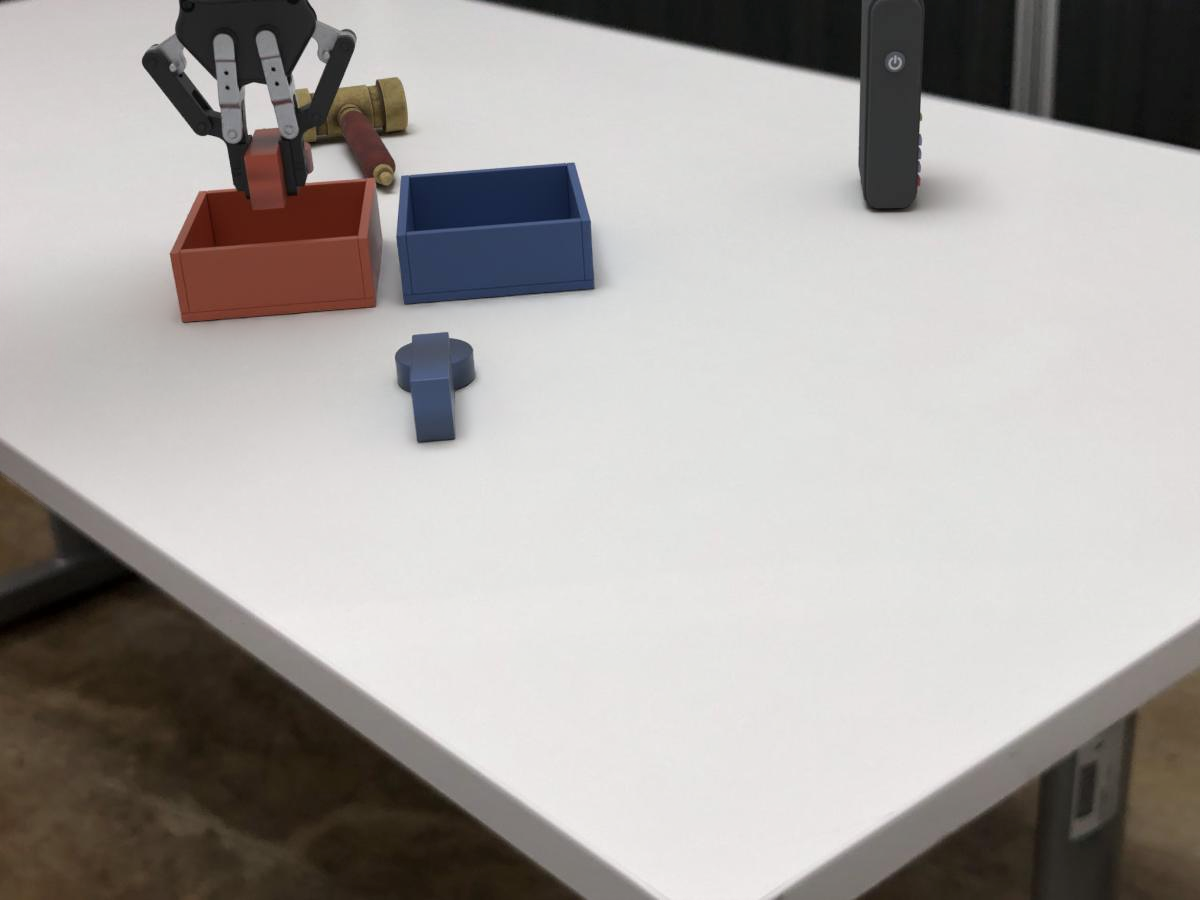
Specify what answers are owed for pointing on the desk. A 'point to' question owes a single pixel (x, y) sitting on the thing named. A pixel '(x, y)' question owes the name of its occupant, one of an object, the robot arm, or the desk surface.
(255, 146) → the red bar with disc
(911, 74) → the card reader
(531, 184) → the blue bin
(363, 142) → the gavel
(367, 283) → the red bin
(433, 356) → the blue disc with bar
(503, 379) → the desk surface
